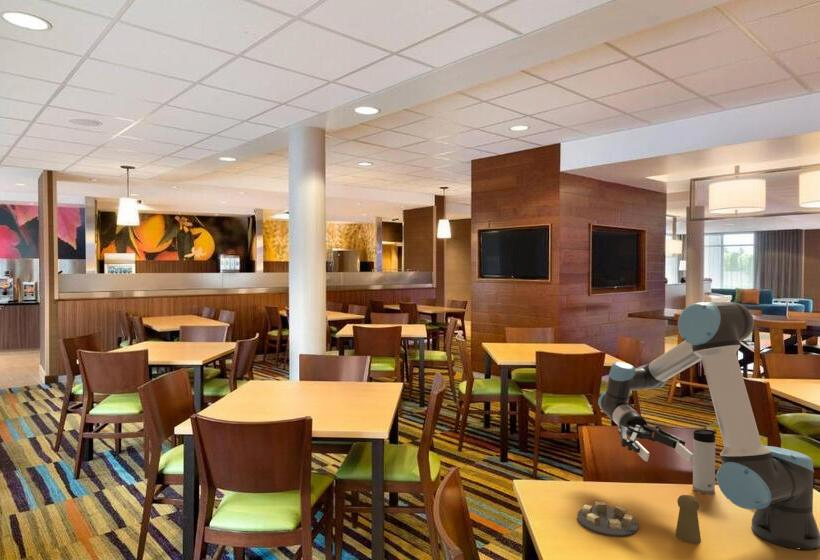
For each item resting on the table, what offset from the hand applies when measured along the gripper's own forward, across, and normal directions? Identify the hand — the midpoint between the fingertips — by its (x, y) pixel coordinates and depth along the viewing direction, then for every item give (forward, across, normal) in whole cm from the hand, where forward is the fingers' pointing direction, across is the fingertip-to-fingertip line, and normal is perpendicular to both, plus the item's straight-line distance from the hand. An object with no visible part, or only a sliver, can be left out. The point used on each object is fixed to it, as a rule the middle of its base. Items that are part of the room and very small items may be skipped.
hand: (669, 458), depth 146 cm
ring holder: (+3, +17, -19) cm, 26 cm away
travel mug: (-14, -26, -20) cm, 36 cm away
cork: (+13, 0, -16) cm, 21 cm away
